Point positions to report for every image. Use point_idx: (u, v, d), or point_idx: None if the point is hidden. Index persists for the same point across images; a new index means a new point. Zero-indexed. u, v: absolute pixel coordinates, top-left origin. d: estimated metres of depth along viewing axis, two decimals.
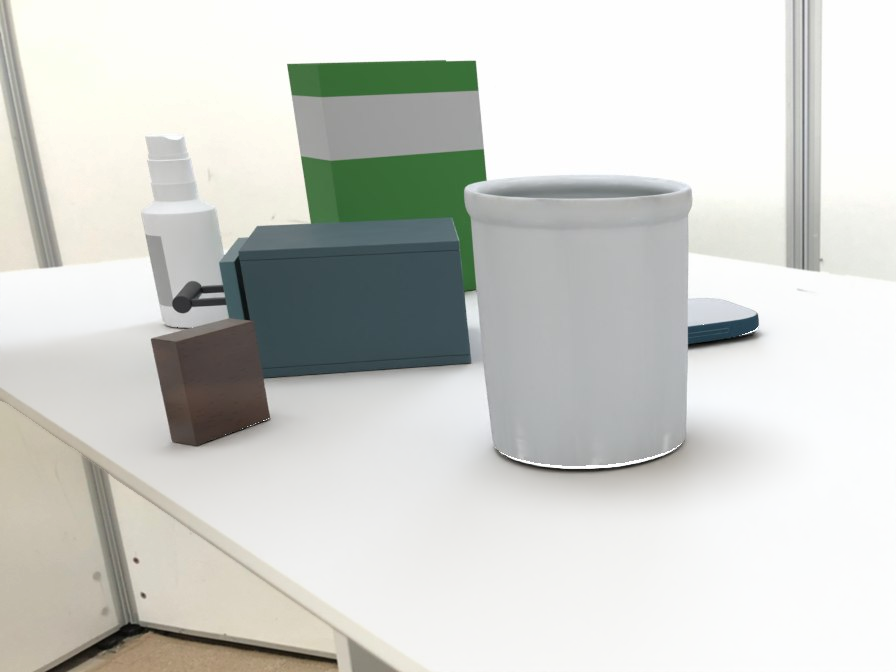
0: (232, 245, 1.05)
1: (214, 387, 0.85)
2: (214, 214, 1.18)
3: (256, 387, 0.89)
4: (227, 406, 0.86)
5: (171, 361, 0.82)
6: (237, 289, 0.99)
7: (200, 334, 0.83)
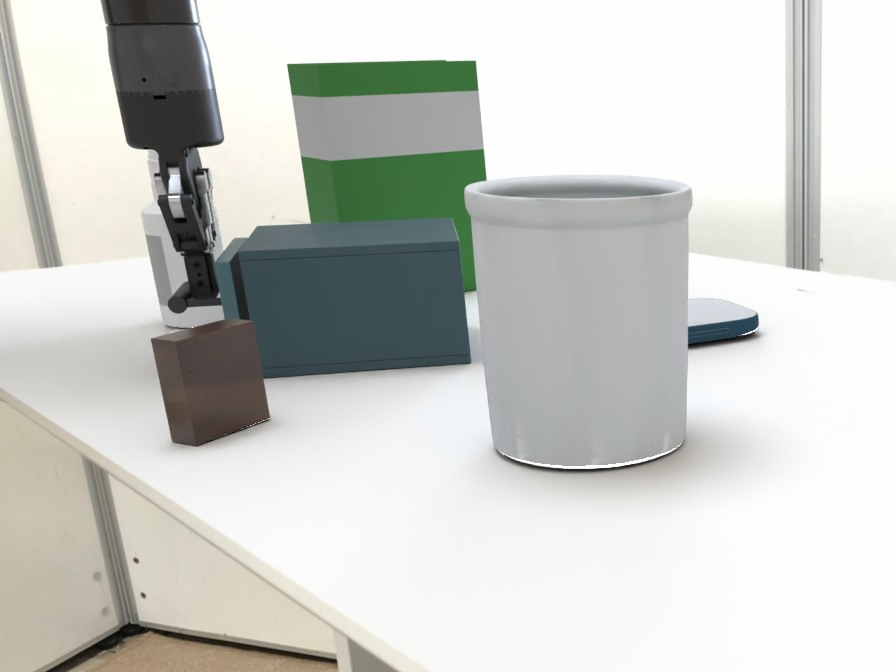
0: (228, 245, 1.05)
1: (214, 387, 0.85)
2: None
3: (256, 387, 0.89)
4: (227, 406, 0.86)
5: (171, 361, 0.82)
6: (233, 289, 0.99)
7: (200, 334, 0.83)
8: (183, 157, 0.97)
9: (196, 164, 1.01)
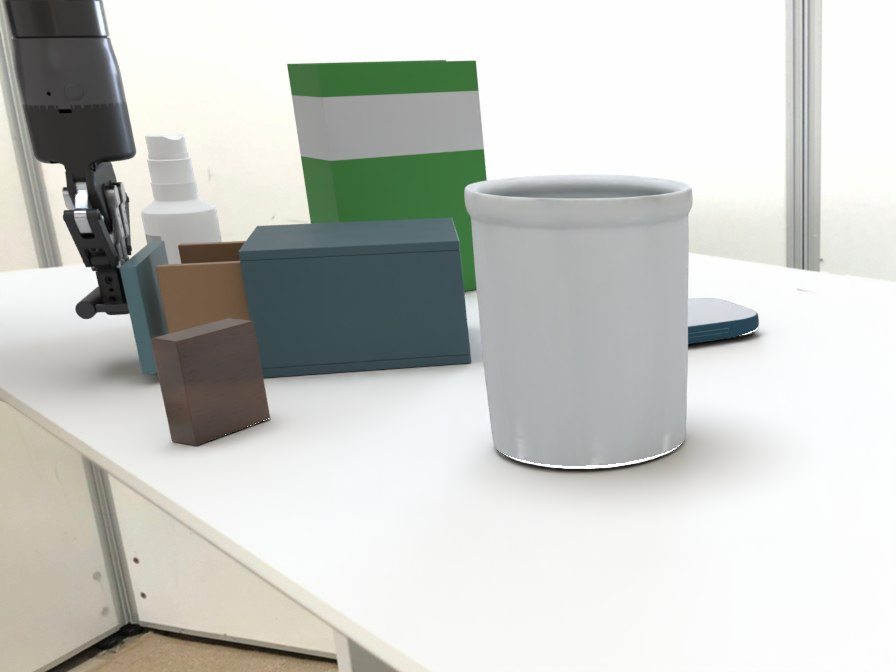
0: None
1: (214, 387, 0.85)
2: (214, 214, 1.18)
3: (256, 387, 0.89)
4: (227, 406, 0.86)
5: (171, 361, 0.82)
6: (139, 294, 0.97)
7: (200, 334, 0.83)
8: (90, 172, 0.95)
9: (108, 178, 1.00)
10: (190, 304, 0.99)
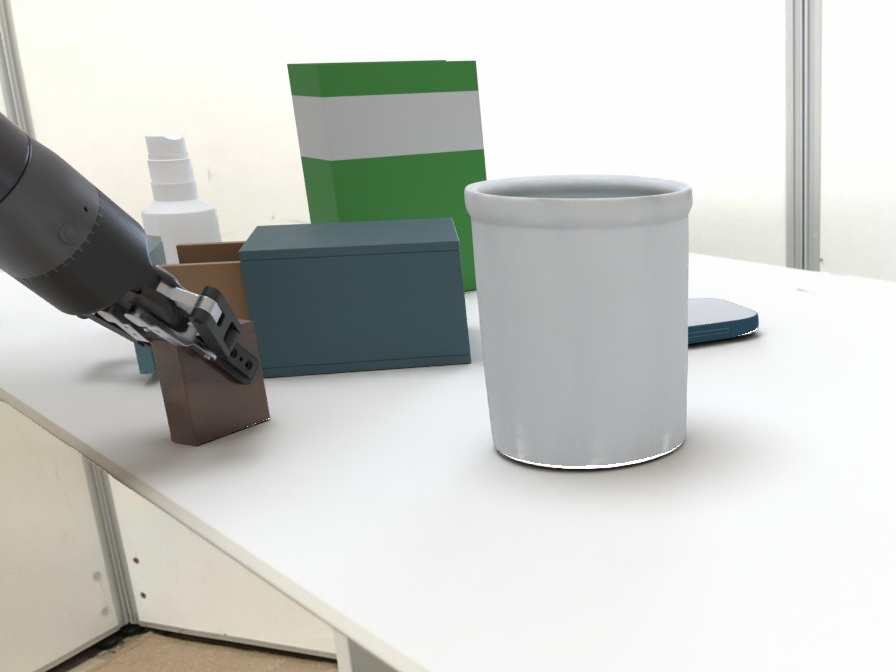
0: None
1: (214, 387, 0.85)
2: (214, 214, 1.18)
3: (256, 387, 0.89)
4: (227, 405, 0.86)
5: (171, 361, 0.82)
6: None
7: None
8: None
9: (123, 299, 0.78)
10: None
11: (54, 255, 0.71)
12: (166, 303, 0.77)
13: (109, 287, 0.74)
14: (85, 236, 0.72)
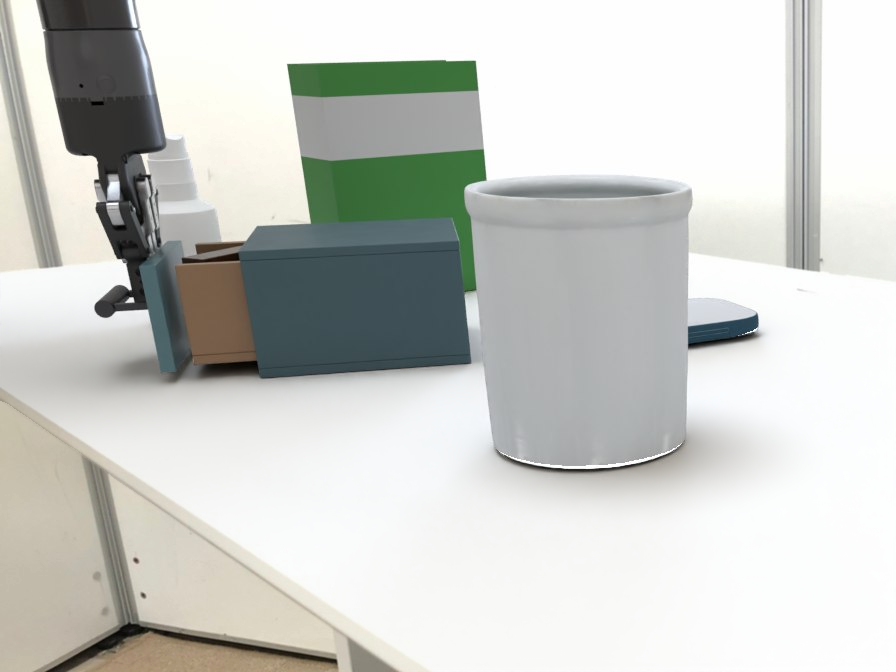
0: None
1: None
2: (213, 214, 1.18)
3: None
4: None
5: None
6: (158, 293, 0.97)
7: (221, 255, 1.02)
8: (122, 164, 0.96)
9: (138, 170, 1.00)
10: (208, 303, 0.99)
11: None
12: None
13: None
14: None
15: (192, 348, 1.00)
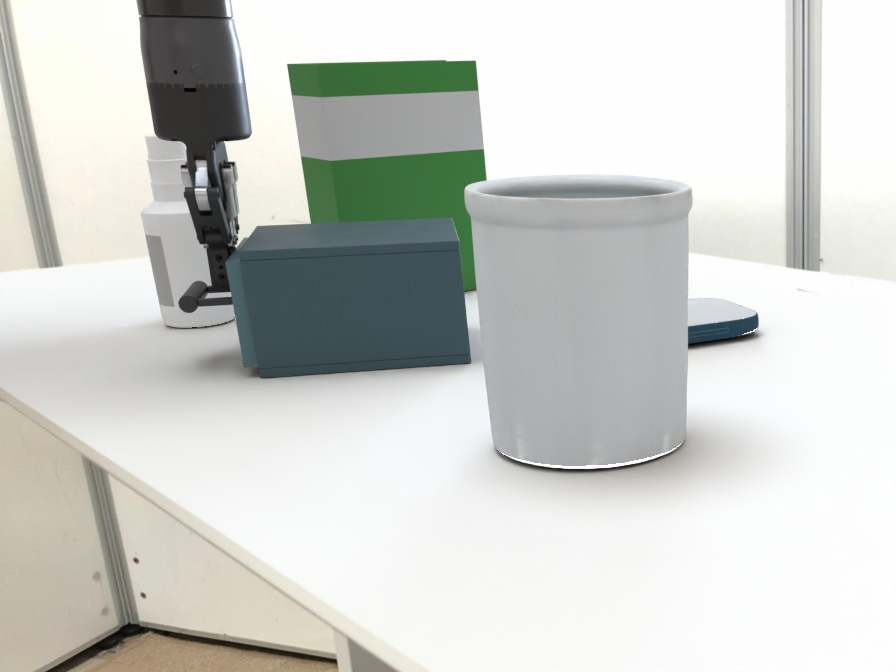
0: (238, 245, 1.05)
1: None
2: None
3: None
4: None
5: None
6: (243, 289, 0.99)
7: None
8: (211, 150, 0.97)
9: (223, 157, 1.01)
10: None
11: None
12: None
13: None
14: None
15: None
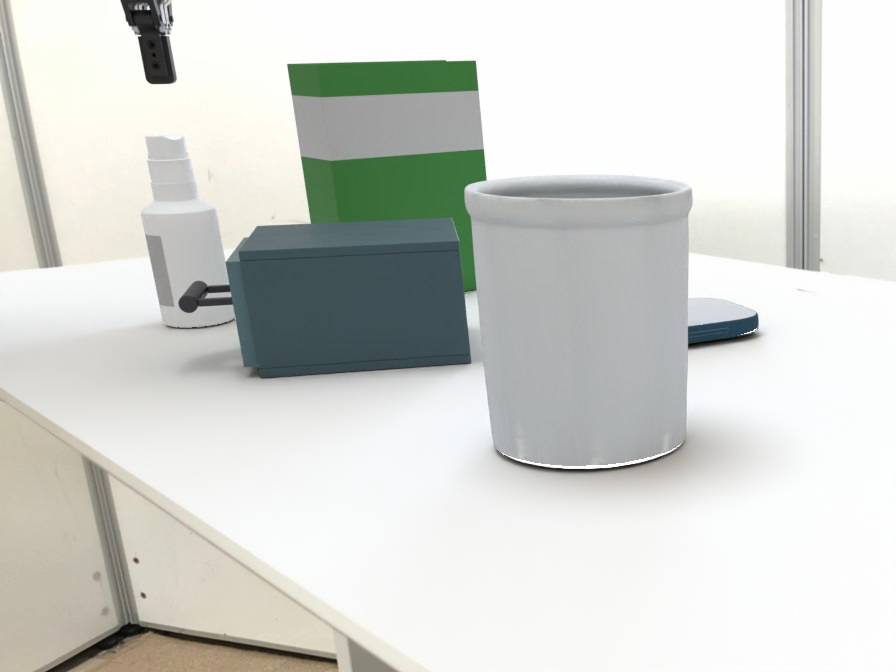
0: (238, 245, 1.05)
1: None
2: (213, 214, 1.18)
3: None
4: None
5: None
6: (243, 289, 0.99)
7: None
8: None
9: None
10: None
11: None
12: None
13: None
14: None
15: None
